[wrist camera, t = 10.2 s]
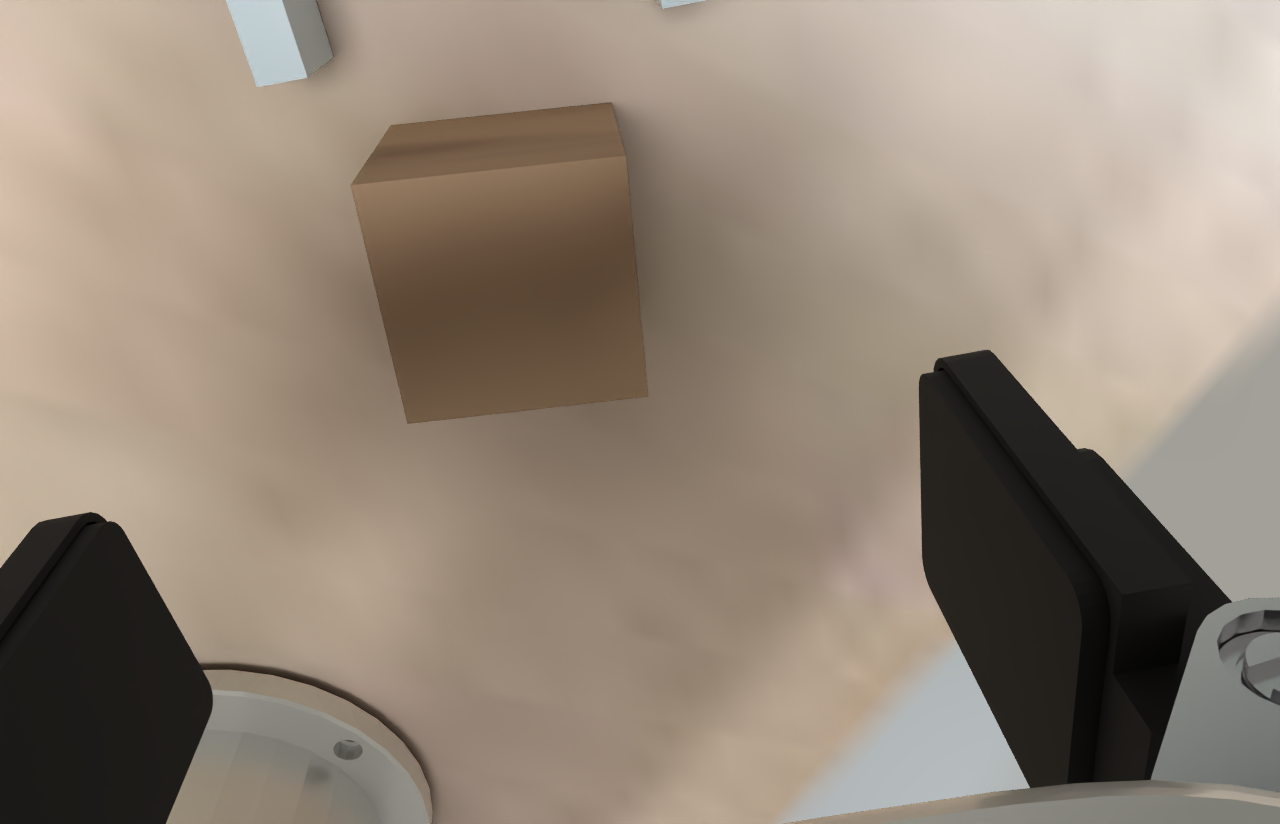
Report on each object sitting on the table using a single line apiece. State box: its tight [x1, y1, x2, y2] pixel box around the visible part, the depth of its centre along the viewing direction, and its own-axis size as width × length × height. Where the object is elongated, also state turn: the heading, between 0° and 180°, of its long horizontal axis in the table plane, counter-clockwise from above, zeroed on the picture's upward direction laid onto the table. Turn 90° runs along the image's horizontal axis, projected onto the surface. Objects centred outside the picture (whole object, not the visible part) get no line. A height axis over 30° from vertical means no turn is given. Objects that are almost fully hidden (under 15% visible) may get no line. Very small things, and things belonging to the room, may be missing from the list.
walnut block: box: [351, 102, 648, 424], centre depth 21 cm, size 5×5×5 cm
